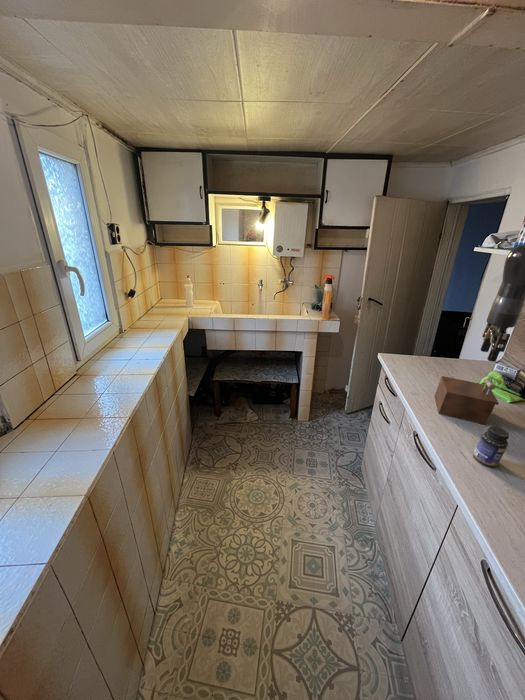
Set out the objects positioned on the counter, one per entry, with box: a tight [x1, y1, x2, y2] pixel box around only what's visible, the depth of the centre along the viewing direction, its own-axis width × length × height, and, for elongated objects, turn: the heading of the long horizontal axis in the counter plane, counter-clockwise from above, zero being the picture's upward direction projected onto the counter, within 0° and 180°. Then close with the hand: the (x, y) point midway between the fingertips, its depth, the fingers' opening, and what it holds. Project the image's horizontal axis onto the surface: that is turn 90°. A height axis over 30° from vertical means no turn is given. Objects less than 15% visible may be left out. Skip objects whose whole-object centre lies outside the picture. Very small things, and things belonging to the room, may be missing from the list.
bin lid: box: [440, 375, 500, 406], centre depth 102 cm, size 15×13×5 cm
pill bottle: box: [472, 425, 510, 468], centre depth 81 cm, size 6×6×11 cm
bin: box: [434, 378, 496, 426], centre depth 105 cm, size 15×13×9 cm
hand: (487, 355), depth 97 cm, fingers open, 8 cm apart
